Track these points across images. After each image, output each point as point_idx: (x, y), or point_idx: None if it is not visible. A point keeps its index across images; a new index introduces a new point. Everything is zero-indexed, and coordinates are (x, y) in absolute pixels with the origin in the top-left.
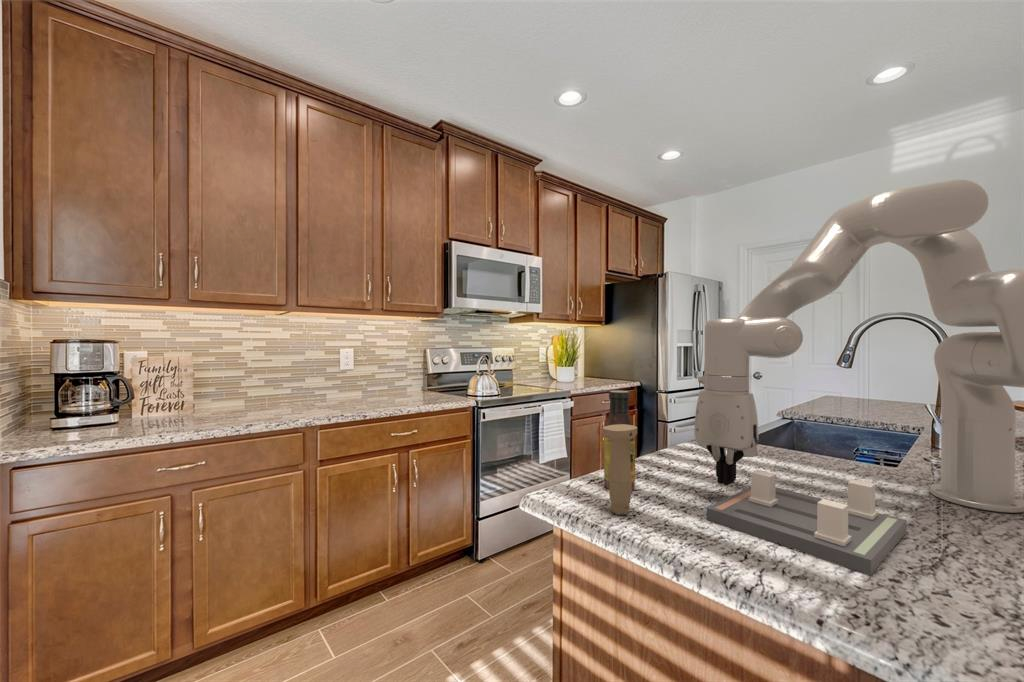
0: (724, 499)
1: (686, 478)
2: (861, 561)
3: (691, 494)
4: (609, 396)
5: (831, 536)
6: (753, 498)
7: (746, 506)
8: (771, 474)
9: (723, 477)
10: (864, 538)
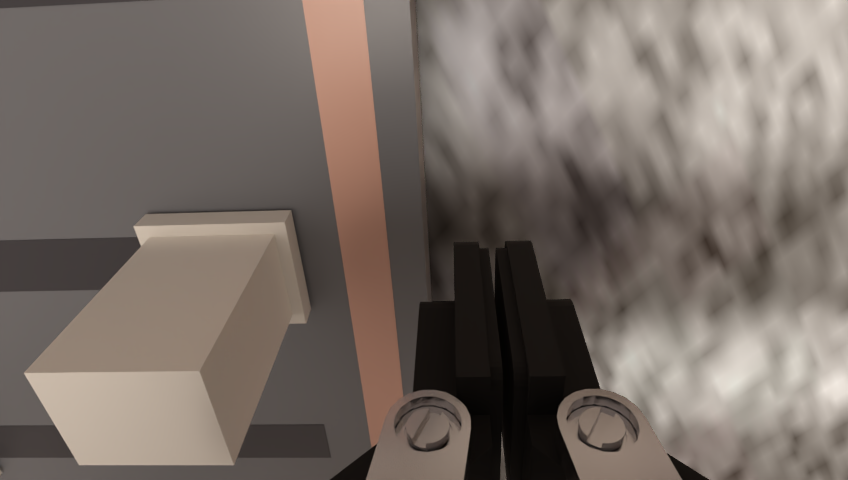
0: (410, 102)
1: (839, 393)
2: None
3: (719, 178)
4: None
5: None
6: (253, 228)
7: (234, 102)
8: (79, 437)
9: (478, 272)
10: None
